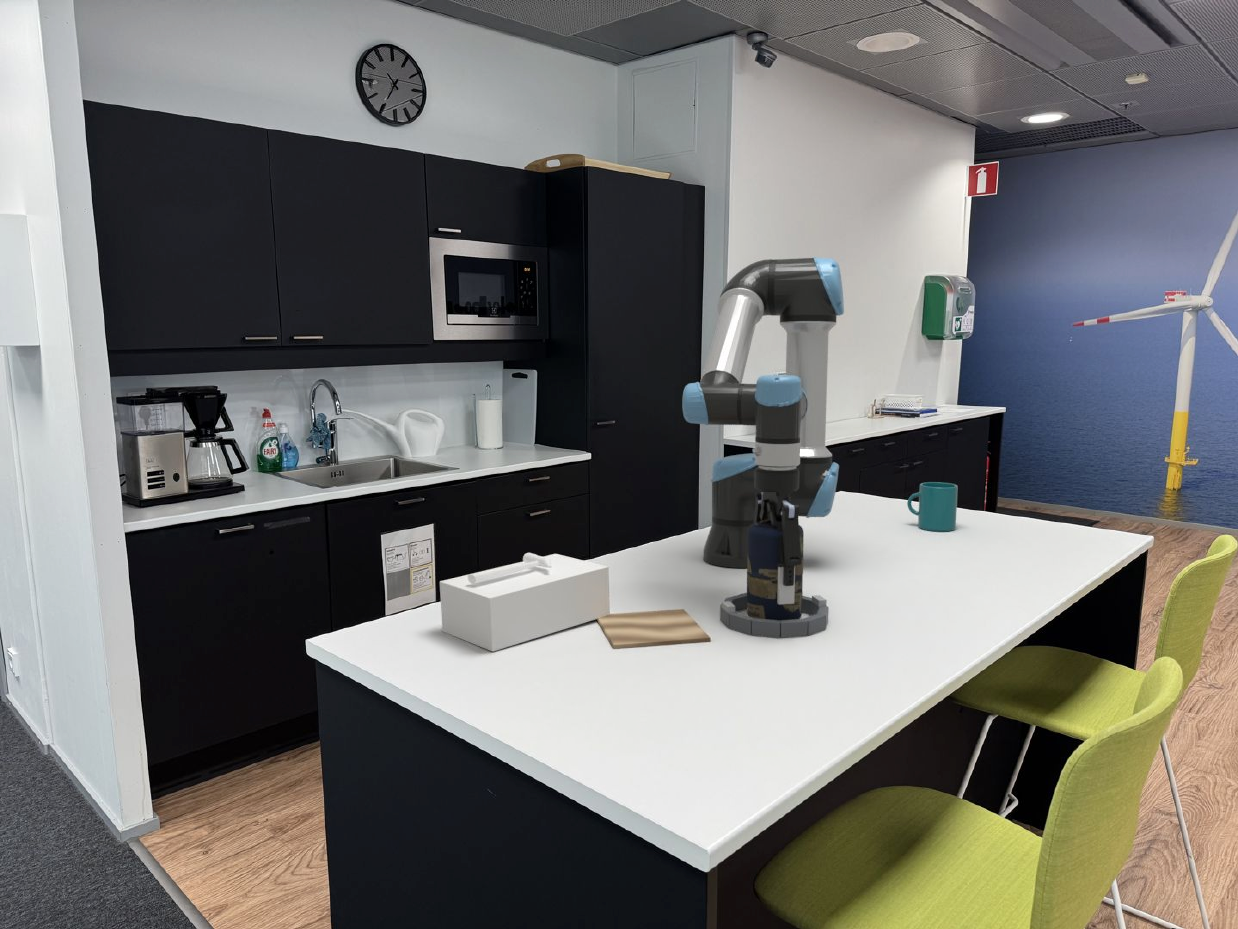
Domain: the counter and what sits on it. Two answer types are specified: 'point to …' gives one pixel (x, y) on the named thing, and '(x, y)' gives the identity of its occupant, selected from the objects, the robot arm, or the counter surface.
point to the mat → (651, 628)
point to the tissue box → (524, 600)
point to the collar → (775, 627)
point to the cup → (936, 506)
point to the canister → (769, 575)
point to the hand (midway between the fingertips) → (774, 594)
